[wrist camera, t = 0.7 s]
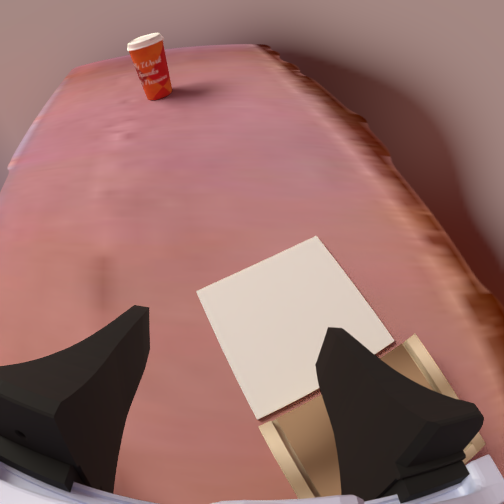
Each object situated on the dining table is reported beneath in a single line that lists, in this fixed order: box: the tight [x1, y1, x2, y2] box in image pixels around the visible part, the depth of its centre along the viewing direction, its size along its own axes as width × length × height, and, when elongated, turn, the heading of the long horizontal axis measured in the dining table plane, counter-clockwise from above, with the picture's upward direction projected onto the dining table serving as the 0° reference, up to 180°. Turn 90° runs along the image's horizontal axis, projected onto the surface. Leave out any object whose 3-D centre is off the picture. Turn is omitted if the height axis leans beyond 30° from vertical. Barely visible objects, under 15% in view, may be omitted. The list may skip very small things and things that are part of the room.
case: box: [259, 334, 485, 499], centre depth 19 cm, size 12×14×4 cm
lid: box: [276, 344, 433, 497], centre depth 16 cm, size 11×11×4 cm
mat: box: [196, 236, 394, 420], centre depth 28 cm, size 14×14×1 cm
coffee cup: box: [127, 33, 172, 100], centre depth 57 cm, size 8×8×15 cm
